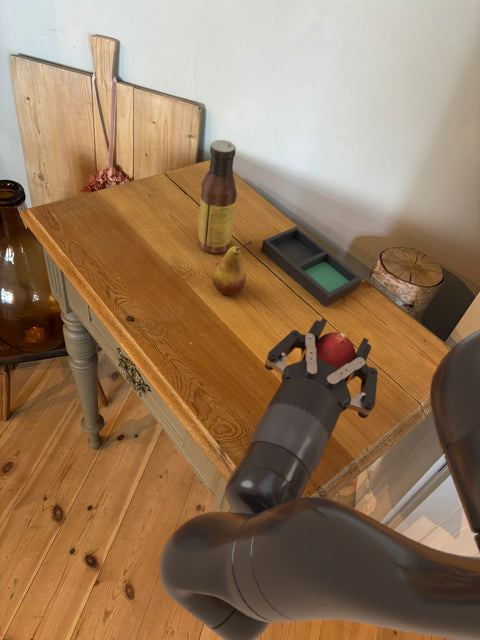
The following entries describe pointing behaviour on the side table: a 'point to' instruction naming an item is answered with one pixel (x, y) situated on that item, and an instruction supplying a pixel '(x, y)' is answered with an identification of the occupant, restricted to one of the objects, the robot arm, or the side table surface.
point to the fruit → (230, 272)
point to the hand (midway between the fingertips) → (343, 333)
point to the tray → (311, 265)
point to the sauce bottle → (218, 199)
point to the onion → (335, 349)
